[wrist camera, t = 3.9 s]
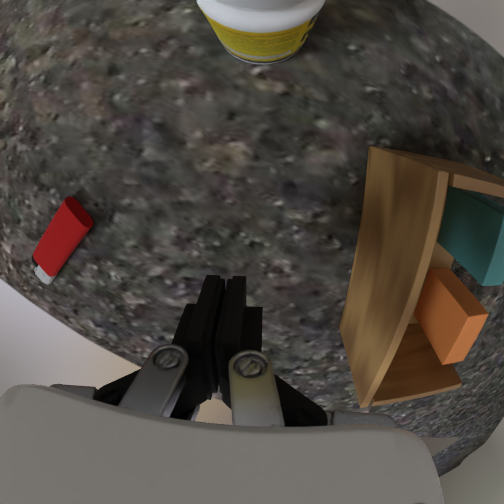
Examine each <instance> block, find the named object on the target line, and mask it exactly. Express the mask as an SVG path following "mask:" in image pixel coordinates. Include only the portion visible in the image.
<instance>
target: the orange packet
mask: <svg viewBox="0 0 504 504" xmlns="http://www.w3.org/2000/svg"><path fill="white" fill-rule="evenodd" d="M414 315H415V317H416V319H417V320H418V322H419V324H420V325H421V327H422V329H423V331H424V332H425V334H426V336H427V338H428V339H429V341H430V343H431V345H432V347H433V348H434V350H435V352H436V354H437V356H438V358H439V360H440V361H441V363H442V365H445V364H450V363H455V362H459V361H463V360H464V358H465V356H466V355H467V353H468V352H469V350H470V348H471V346H472V345H473V343H474V341H475V339H476V338H477V336H478V334H479V332H480V330H481V328H482V326H483V324H484V323H485V321H486V319H487V317H488V315H489V313H488V312H487V311H486V310H485V308H484V307H483V306H482V305H481V303H480V302H479V301H478V300H477V299H476V298H475V296H474V295H473V294H472V293H471V292H470V291H469V290H468V288H467V287H466V286H465V285H464V284H463V283H462V282H461V281H460V280H459V278H458V277H457V276H456V275H455V274H454V273H453V272H452V271H451V270H450V269H429V271H428V274H427V277H426V281H425V284H424V287H423V289H422V292H421V295H420V298H419V301H418V303H417V306H416V309H415V311H414Z"/></svg>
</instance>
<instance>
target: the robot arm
mask: <svg viewBox="0 0 504 504" xmlns="http://www.w3.org/2000/svg"><path fill="white" fill-rule="evenodd" d="M262 311H263V307H246V276H233V279H228V281H227V286H226V290H225V279H220V275H207V276H206V278H205V281H204V284H203V287H202V289H201V292H200V295H199V298H198V301H197V304H187V305H186V306H185V309H184V312H183V314H182V317H181V319H180V322H179V325H178V327H177V330H176V333H175V335H174V338H173V341H172V344H165V345H162V346H159V347H157V348H156V349H154V350H153V351H152V352H151V353H150V355H149V356H148V358H147V360H146V361H145V363H144V364H143V366H142V368H141V369H139V370H137V371H135V372H133V373H131V374H129V375H126V376H124V377H122V378H120V379H118V380H116V381H113V382H111V383H109V384H107V385H104V386H103V387H101V388H100V389H99V390H98V389H96V388H95V387H89V386H74V385H63V384H54V385H51V386H49V387H48V386H43V385H35V384H24V385H23V384H22V385H17V386H13V387H11V388H9V389H8V390H7V391H6V392H5V393H4V394H3V395H2V396H1V397H0V504H444V499H443V493H442V489H441V485H440V481H439V477H438V474H437V470H436V467H435V465H434V462H433V459H432V457H431V454H430V452H429V450H428V448H427V447H426V445H425V444H424V442H423V441H422V440H421V439H420V438H419V437H418V436H417V435H416V434H414V433H412V432H409V431H406V430H404V429H400V428H398V426H397V423H396V421H395V420H394V419H393V418H392V417H390V416H388V415H384V414H371V413H359V412H348V411H339V410H334V411H333V412H327V411H324V410H323V409H322V408H321V407H320V406H318V405H317V404H315V403H314V402H313V401H311V400H310V399H308V398H307V397H305V396H304V395H303V394H301V393H300V392H298V391H297V390H296V389H294V388H293V387H292V386H290V385H289V384H287V383H286V382H285V381H283V380H282V379H281V378H279V377H278V376H277V375H275V374H274V372H273V367H272V363H271V360H270V358H269V357H268V356H267V355H265V354H264V353H262V352H261V347H262ZM218 384H219V385H220V392H221V393H222V397H223V402H224V403H225V404H226V405H227V406H228V407H229V408H230V409H231V410H232V422H233V425H225V424H213V423H205V422H196V421H195V419H196V417H197V414H198V412H199V408H200V404H201V403H203V402H204V401H206V400H207V399H209V400H211V397H212V393H217V390H218Z"/></svg>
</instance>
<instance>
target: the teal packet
mask: <svg viewBox="0 0 504 504" xmlns="http://www.w3.org/2000/svg"><path fill="white" fill-rule="evenodd" d="M437 242H438V243H439V244H440V245H441V246H442V247H443V248H444V249H445V250H446V251H447V252H448V253H449V254H451V255H452V256H453V257H454V258H455V259H456V260H457V261H458V262H459V263H460V264H461V265H462V266H463V267H464V268H465V269H466V270H467V271H468V272H469V273H470V274H471V275H472V276H473V277H474V278H475V279H476V280H477V281H478V282H479V283H480V284H481V285H482V286H490V285H502V283H503V280H504V207H503V206H501V205H499V204H498V203H496V202H494V201H492V200H490V199H489V198H487V197H485V196H483V195H481V194H479V193H477V192H475V191H471V190H466V189H461V188H456V187H452V186H450V185H449V188H448V194H447V199H446V204H445V209H444V214H443V219H442V223H441V227H440V232H439V236H438V240H437Z"/></svg>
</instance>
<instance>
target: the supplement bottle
mask: <svg viewBox="0 0 504 504" xmlns="http://www.w3.org/2000/svg"><path fill="white" fill-rule="evenodd" d="M196 1H197V4H198V5H199V7H200V9H201V10H202V12H203V13H204V15H205V16H206V18H207V19H208V21H209V23H210V24H211V26H212V28H213V29H214V31H215V33H216V34H217V36H218V38H219V40H220V42H221V43H222V45H223V46H224V47H225V49H226V50H227V51H228V52H229V53H230V54H232V55H233V56H234V57H236V58H238V59H240V60H242V61H245V62H248V63H253V64H273V63H277V62H281V61H283V60H286V59H288V58H289V57H291V56H293V55H294V54H295V53H296V52H297V51H298V50H299V49H300V48H301V47H302V45H303V44H304V42H305V40H306V38H307V36H308V34H309V32H310V30H311V28H312V26H313V25H314V23H315V20H316V19H317V17H318V15H319V14H320V11H321V10H322V8H323V6H324V3H325V0H196Z"/></svg>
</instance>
